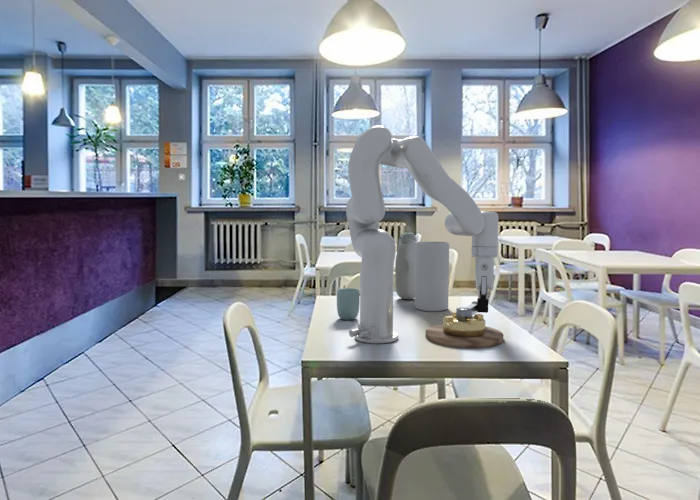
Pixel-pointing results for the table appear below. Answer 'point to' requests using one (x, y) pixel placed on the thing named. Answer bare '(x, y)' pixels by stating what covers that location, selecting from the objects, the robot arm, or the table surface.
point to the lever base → (464, 338)
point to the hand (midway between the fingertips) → (482, 311)
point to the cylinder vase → (431, 275)
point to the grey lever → (465, 322)
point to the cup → (348, 303)
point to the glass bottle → (405, 266)
